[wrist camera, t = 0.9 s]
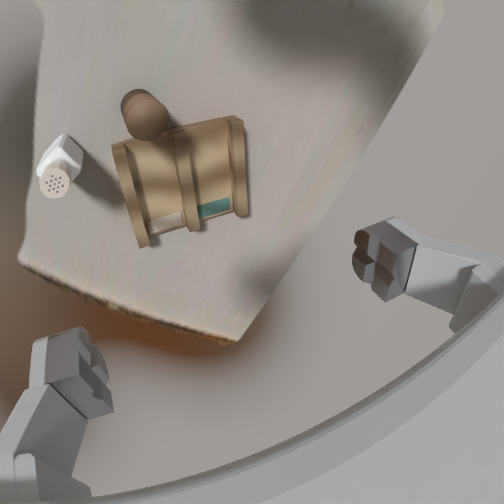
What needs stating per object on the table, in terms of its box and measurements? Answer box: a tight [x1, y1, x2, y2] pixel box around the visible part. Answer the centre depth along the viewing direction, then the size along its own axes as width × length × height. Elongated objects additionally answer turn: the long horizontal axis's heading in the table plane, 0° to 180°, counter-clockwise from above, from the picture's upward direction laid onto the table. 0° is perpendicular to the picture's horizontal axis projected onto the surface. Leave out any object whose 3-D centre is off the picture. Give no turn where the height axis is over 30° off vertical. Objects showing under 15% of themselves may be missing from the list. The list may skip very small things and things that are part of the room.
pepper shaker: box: [36, 134, 84, 199], centre depth 27 cm, size 4×4×10 cm
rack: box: [111, 116, 248, 248], centre depth 39 cm, size 14×16×3 cm
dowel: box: [121, 89, 169, 141], centre depth 28 cm, size 4×4×9 cm
